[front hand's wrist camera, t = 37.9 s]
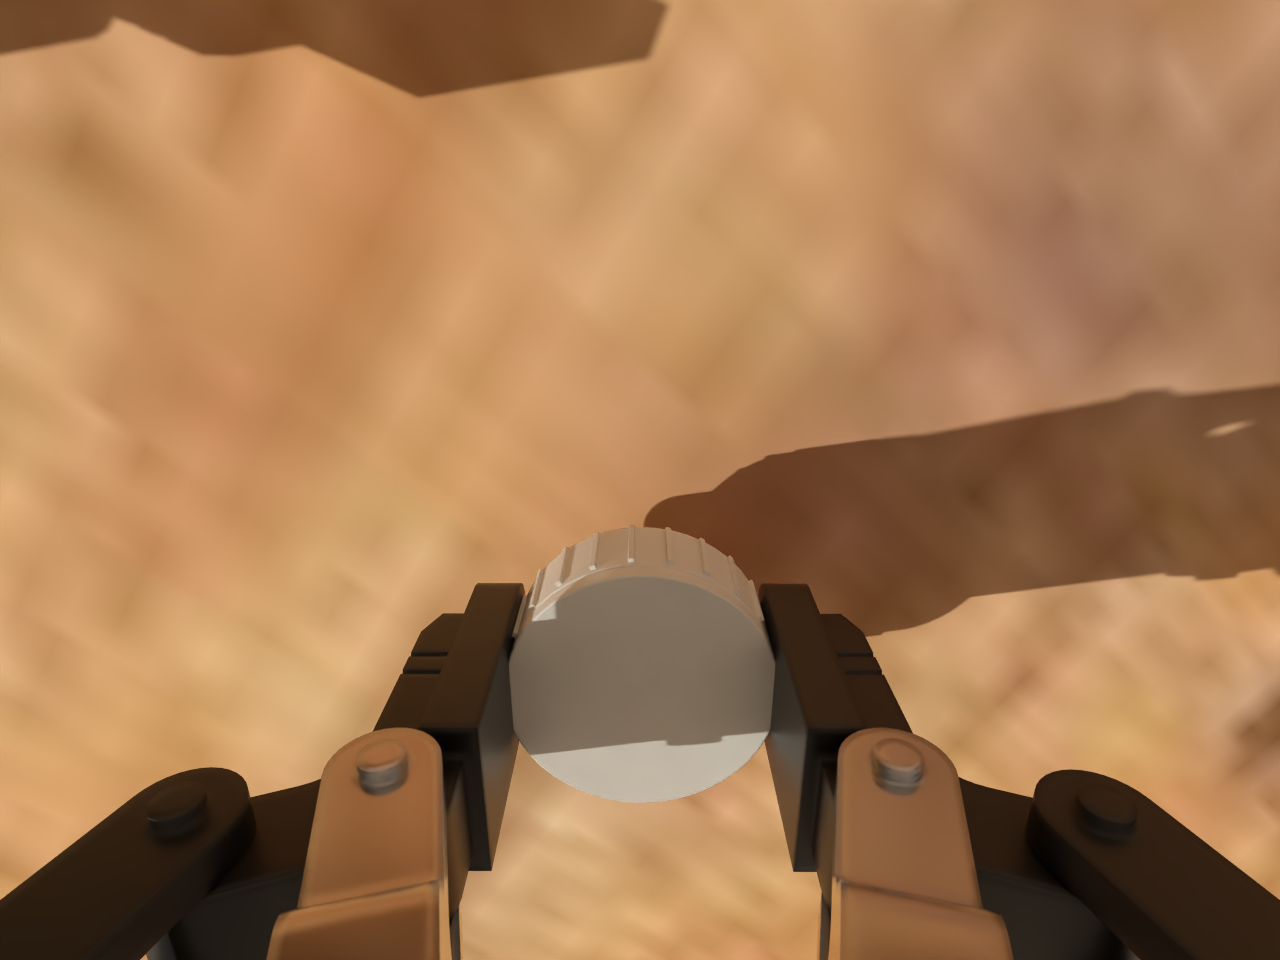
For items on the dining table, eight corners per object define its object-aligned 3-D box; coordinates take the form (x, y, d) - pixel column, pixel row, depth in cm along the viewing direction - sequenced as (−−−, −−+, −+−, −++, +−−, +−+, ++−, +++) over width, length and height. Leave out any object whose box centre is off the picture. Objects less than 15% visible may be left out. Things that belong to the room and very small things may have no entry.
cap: (625, 774, 13) (624, 847, 12) (463, 621, 12) (440, 681, 11) (815, 650, 12) (839, 713, 11) (659, 471, 11) (662, 515, 10)
